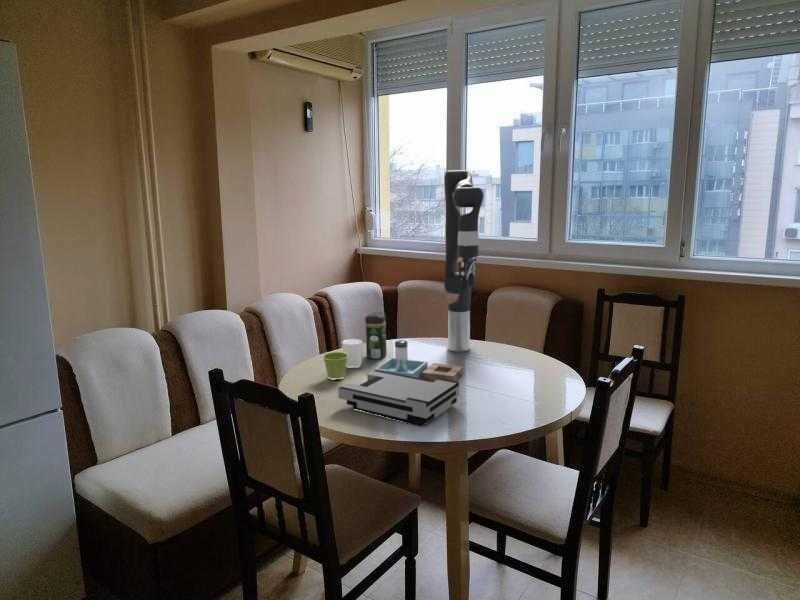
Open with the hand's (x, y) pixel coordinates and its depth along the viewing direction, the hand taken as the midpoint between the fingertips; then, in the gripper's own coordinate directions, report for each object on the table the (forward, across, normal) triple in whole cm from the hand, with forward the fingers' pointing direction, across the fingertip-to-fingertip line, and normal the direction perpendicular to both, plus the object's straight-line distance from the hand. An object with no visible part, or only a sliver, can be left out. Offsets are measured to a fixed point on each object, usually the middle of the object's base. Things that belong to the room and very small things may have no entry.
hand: (467, 287), depth 202 cm
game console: (+33, +41, -10) cm, 53 cm away
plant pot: (+32, +24, -43) cm, 59 cm away
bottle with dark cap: (+31, +13, -21) cm, 40 cm away
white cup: (+32, +9, -44) cm, 55 cm away
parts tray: (+32, +13, -22) cm, 41 cm away
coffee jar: (+32, -6, -41) cm, 53 cm away
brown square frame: (+32, +8, -7) cm, 34 cm away
